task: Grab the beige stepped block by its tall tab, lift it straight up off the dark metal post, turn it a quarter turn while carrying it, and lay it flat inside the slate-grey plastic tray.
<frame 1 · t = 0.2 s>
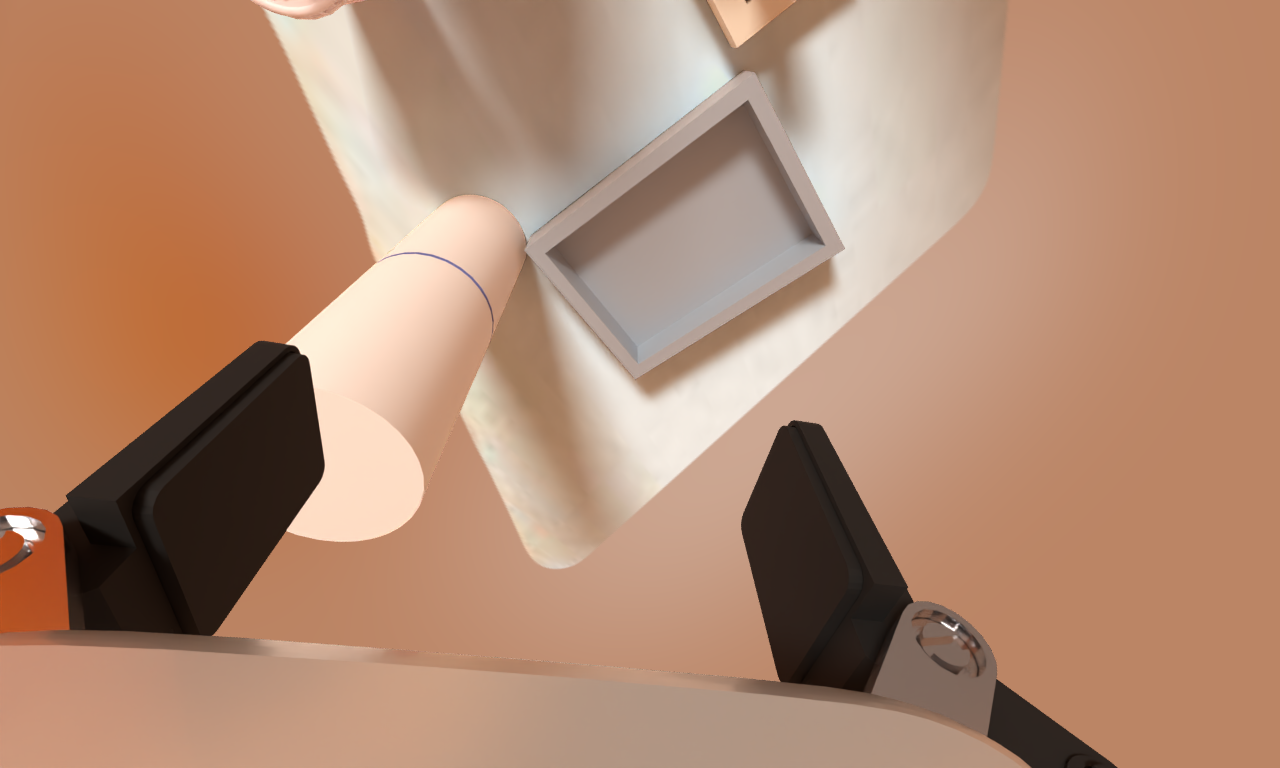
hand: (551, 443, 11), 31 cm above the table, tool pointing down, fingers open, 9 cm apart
cylindrical container: (478, 243, 39), on the table
tray: (681, 234, 39), on the table
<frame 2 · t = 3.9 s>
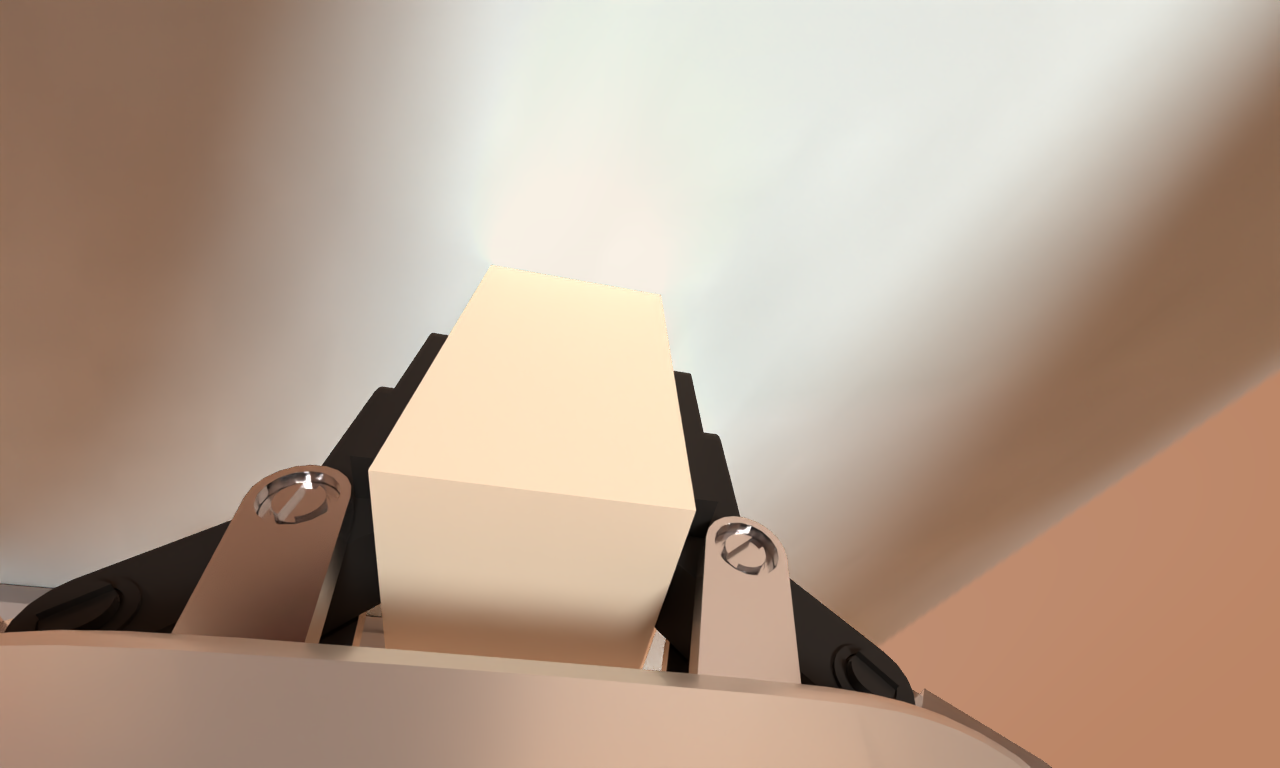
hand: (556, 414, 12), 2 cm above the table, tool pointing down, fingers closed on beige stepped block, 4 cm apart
beige stepped block: (541, 529, 17), on the table, touching gripper
tray: (189, 696, 21), on the table
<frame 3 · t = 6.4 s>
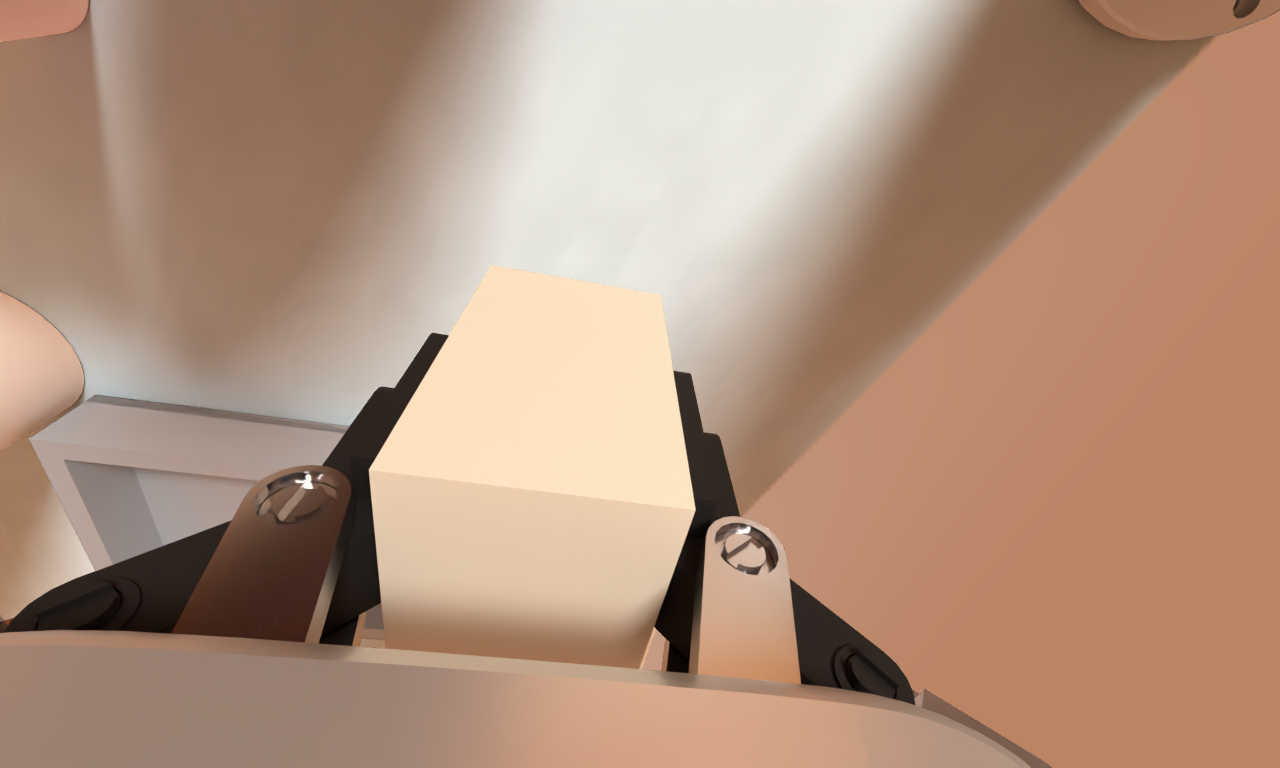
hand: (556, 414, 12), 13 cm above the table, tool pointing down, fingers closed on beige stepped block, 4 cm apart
beige stepped block: (541, 528, 17), point 11 cm above the table, touching gripper
tray: (308, 509, 30), on the table
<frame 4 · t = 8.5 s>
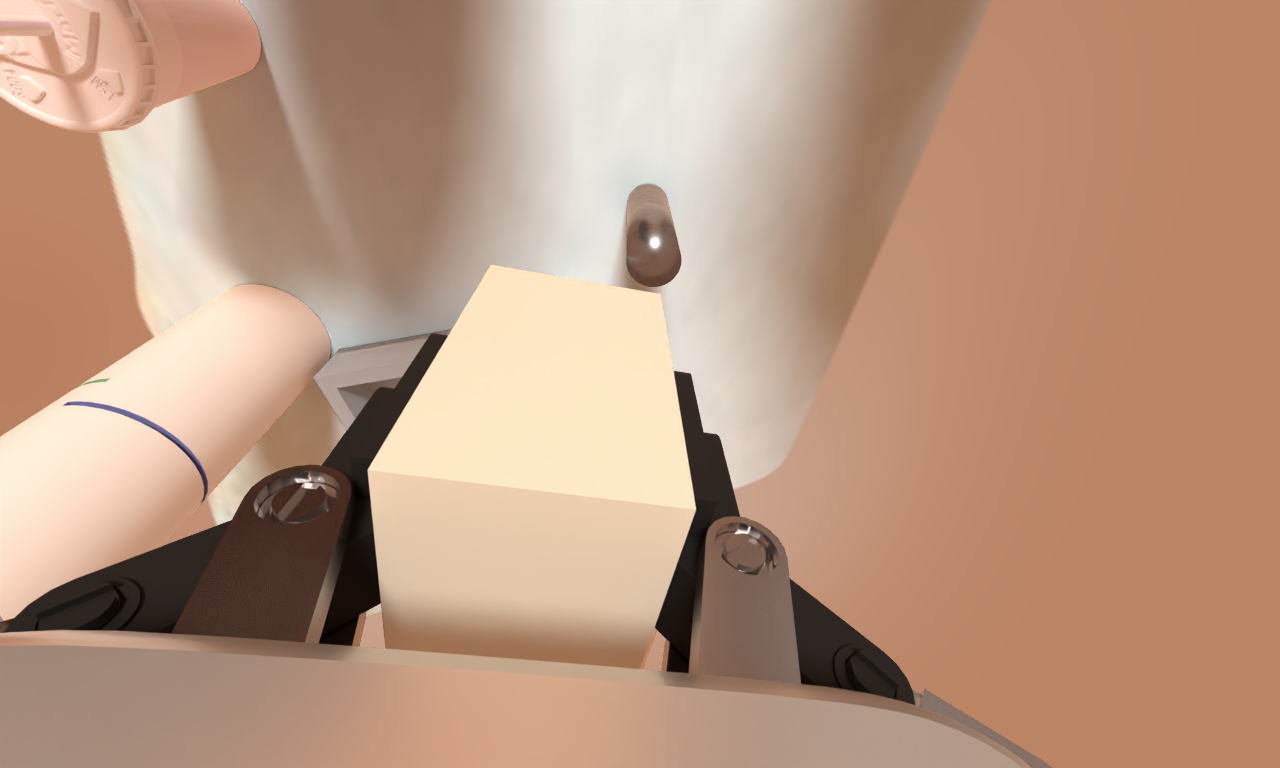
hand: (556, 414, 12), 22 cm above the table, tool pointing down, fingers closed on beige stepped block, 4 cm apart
beige stepped block: (542, 528, 17), point 20 cm above the table, touching gripper
cylindrical container: (275, 333, 35), on the table
tray: (499, 405, 38), on the table
post: (647, 205, 31), on the table
smoothie: (222, 31, 26), on the table
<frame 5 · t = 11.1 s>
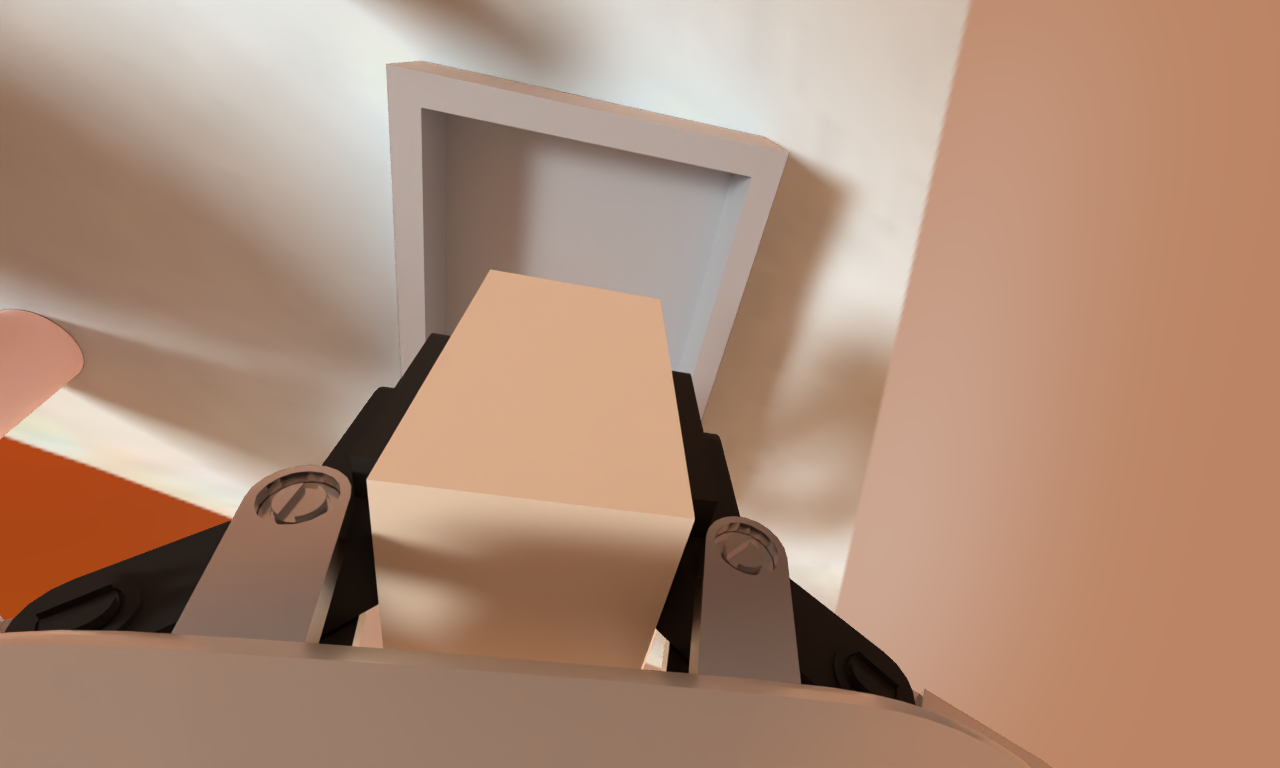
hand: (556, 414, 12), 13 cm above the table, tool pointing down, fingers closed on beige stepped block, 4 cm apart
beige stepped block: (541, 532, 17), point 11 cm above the table, touching gripper
cylindrical container: (397, 487, 30), on the table
tray: (570, 315, 25), on the table
smoothie: (40, 343, 25), on the table
when the fingers open (5 cm above the table, at t = 13.3 s): beige stepped block drops 2 cm, resting on tray.
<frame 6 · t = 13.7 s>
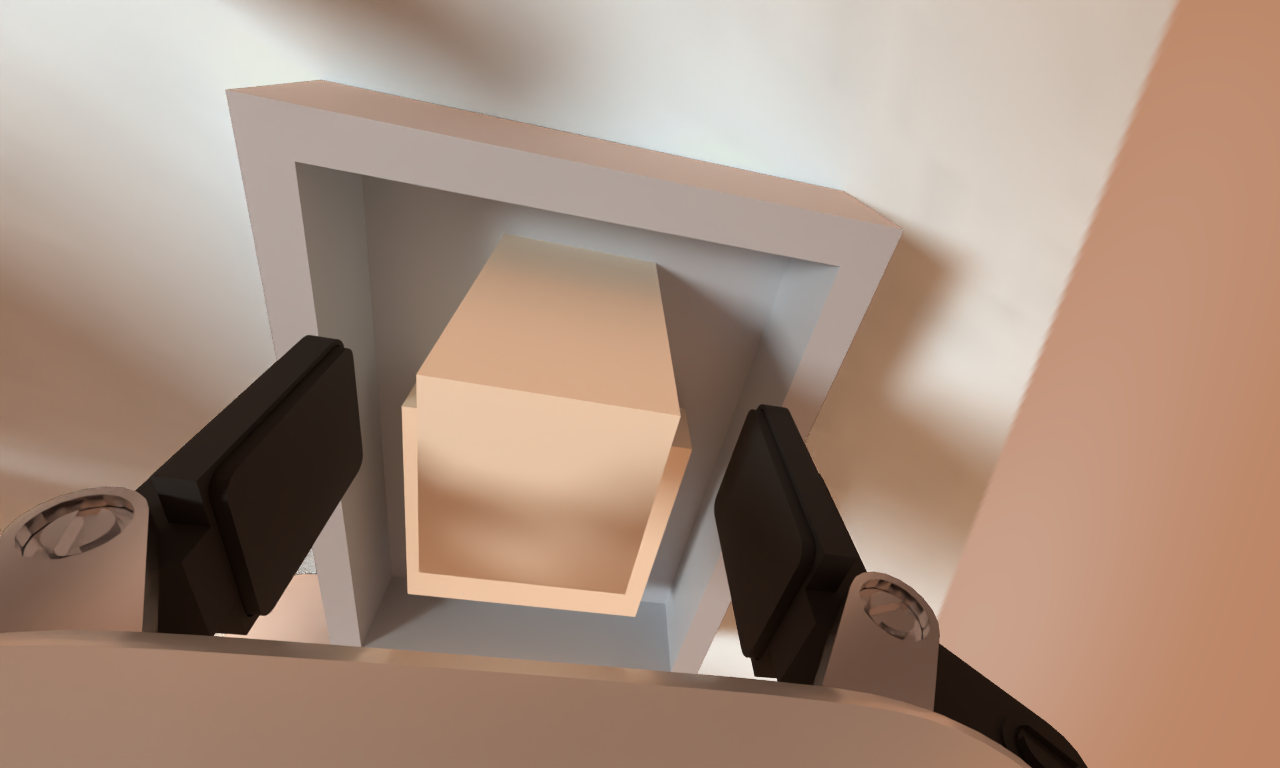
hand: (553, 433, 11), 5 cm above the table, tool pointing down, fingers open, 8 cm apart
beige stepped block: (544, 483, 18), point 1 cm above the table, touching tray
cylindrical container: (337, 622, 23), on the table
tray: (557, 426, 18), on the table
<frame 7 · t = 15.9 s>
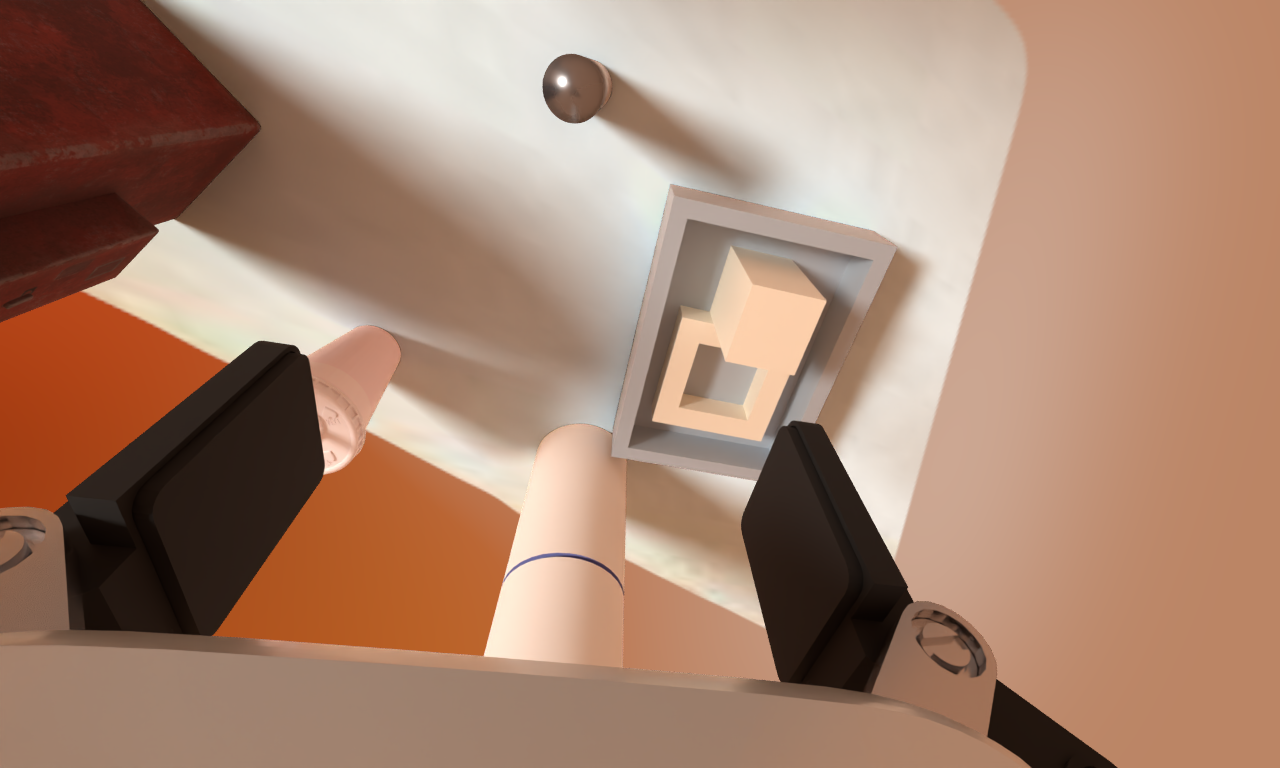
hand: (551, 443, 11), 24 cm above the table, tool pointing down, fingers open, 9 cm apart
beige stepped block: (720, 369, 37), point 1 cm above the table, touching tray
cylindrical container: (581, 459, 42), on the table
tray: (730, 339, 36), on the table
post: (589, 85, 29), on the table
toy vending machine: (165, 124, 30), on the table
smoothie: (374, 348, 37), on the table
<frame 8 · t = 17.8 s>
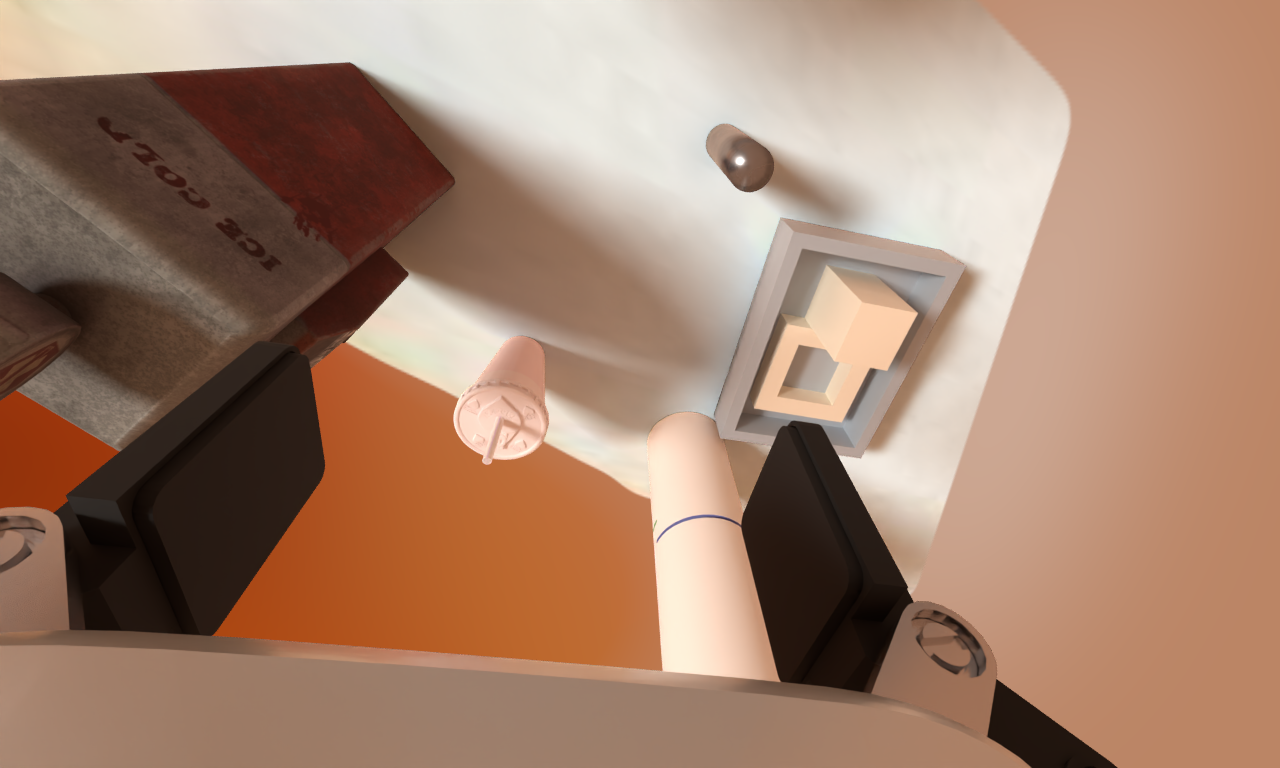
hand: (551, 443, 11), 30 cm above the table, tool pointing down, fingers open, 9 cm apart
beige stepped block: (809, 364, 45), point 1 cm above the table, touching tray
cylindrical container: (684, 441, 50), on the table
tray: (817, 339, 44), on the table
post: (723, 143, 36), on the table
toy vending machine: (377, 181, 37), on the table
smoothie: (522, 354, 44), on the table
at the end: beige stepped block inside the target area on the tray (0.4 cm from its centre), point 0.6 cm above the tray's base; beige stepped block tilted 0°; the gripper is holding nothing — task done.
